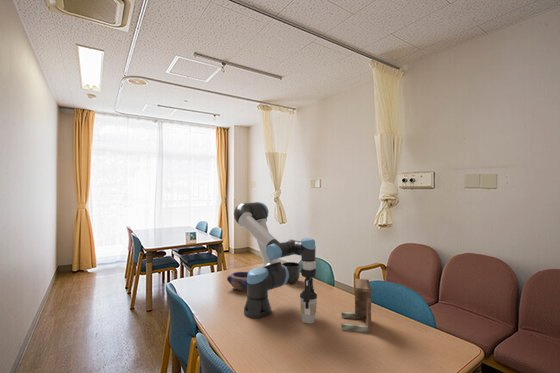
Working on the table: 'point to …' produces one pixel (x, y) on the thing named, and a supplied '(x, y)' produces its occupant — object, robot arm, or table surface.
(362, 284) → the wooden bookend
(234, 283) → the bowl
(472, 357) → the table surface
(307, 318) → the coffee cup
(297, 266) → the planter
